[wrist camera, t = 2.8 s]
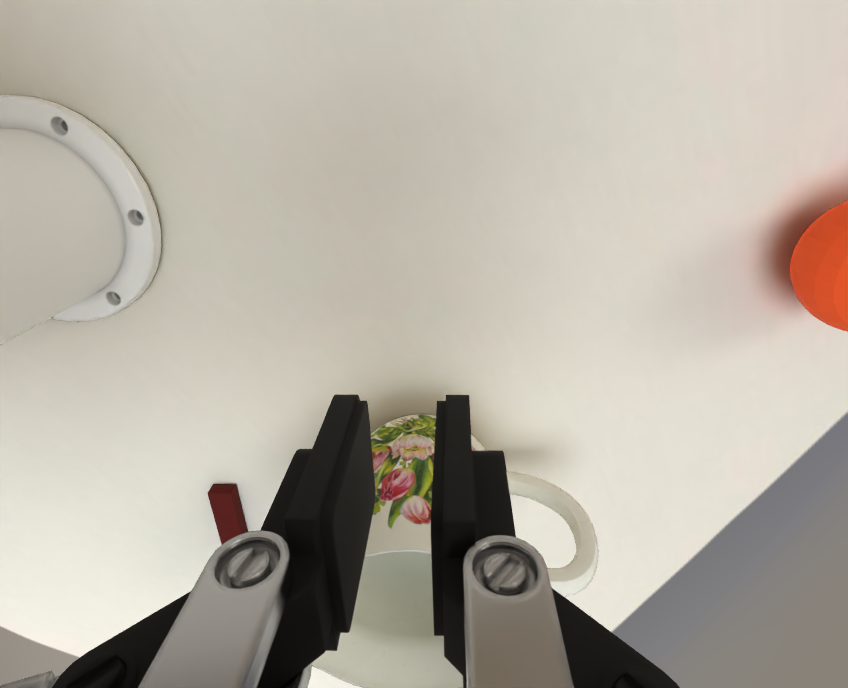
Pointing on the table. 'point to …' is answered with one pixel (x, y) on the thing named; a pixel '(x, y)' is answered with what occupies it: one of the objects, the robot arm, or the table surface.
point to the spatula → (227, 511)
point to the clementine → (824, 267)
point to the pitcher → (424, 565)
